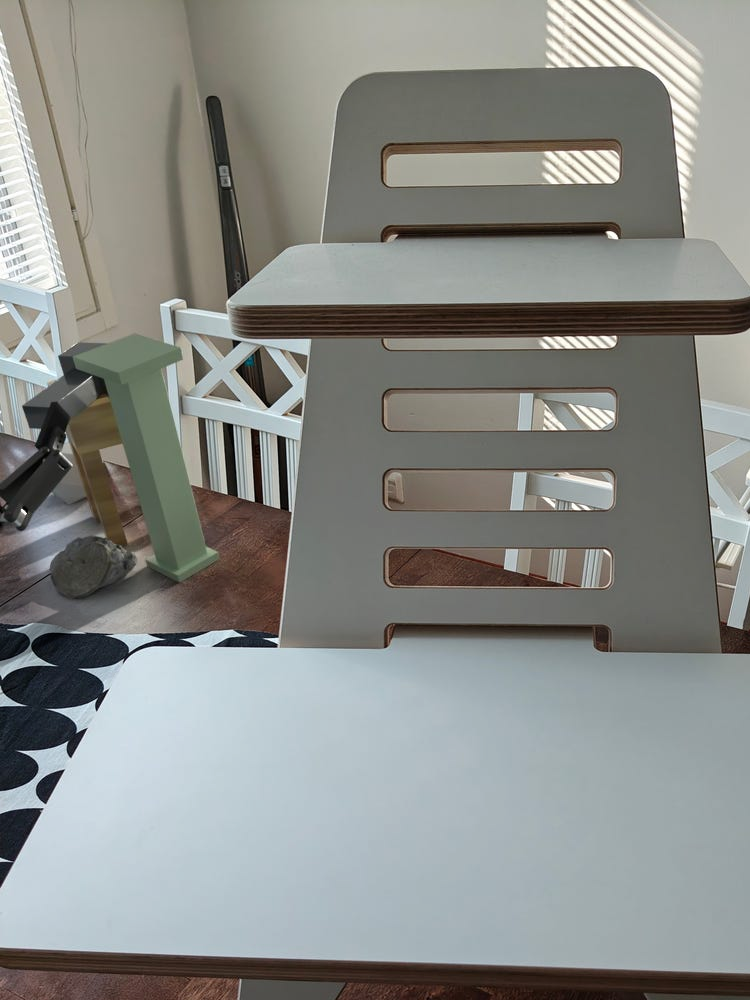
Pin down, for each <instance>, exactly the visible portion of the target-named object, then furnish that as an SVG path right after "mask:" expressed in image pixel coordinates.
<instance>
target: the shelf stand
mask: <svg viewBox="0 0 750 1000" xmlns="http://www.w3.org/2000/svg"><path fill="white" fill-rule="evenodd" d="M73 360H74V363H75V367H76V369H78V370H81V371H84V372H87V373H89V374H92V375H95V376H98V377H101V378H103V379H104V381H105V384H106V388H107V391H108V395H109V398H110V402H111V405H112V409H113V412H114V415H115V419H116V422H117V426H118V429H119V433H120V436H121V440H122V443H123V444H122V446H123V447H122V448H123V449H124V453H125V456H126V460H127V463H128V467H129V470H130V474H131V477H132V481H133V485H134V488H135V492H136V494H137V495H136V496H137V499H138V502H139V505H140V508H141V512H142V516H143V519H144V523H145V526H146V530H147V532H148V536H149V540H150V543H151V547H152V550H153V553H154V554H153V555H151V556H148V557H146V558H145V563H146V567H147V568H149V569H151V570H153V571H155V572H157V573H159V574H161V575H162V576H165V577H167V578H169V579H171V580H173V581H175V582H177V583H179V584H180V583H182V582H184V581H185V580H187V579H189V578H190V577H192V576H194V575H196V574H197V573H199V572H201V571H203V570H204V569H206V568H207V567H209V566H211V565H212V564H214V563H216V562H218V561H219V560H220V554H219V552H218V551H217V550H214V549H213V548H210V547H209V546H207V545H206V542H205V537H204V533H203V530H202V529H203V528H202V526H201V522H200V517H199V513H198V509H197V505H196V502H195V501H196V500H195V498H194V494H193V490H192V485H191V481H190V476H189V474H188V469H187V466H186V462H185V457H184V453H183V450H182V446H181V441H180V438H179V433H178V430H177V429H178V428H177V426H176V421H175V417H174V413H173V408H172V406H171V402H170V397H169V393H168V389H167V386H166V381H165V378H164V374H163V369H165V368H166V367H169V366H171V365H174V364H176V363H178V362H180V361H183V360H184V355H183V352H182V347H180V346H177V345H173V344H170V343H167V342H165V341H162V340H157V339H155V338H151V337H148V336H144V335H141V334H139V333H132V334H129V335H126V336H124V337H121V338H118V339H117V340H114V341H111V342H108V344H105V345H103V346H100V347H97V348H95V349H92V350H89V351H87V352H84V353H82V354H79V355H76V356H74V357H73Z"/></svg>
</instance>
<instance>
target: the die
mask: <svg viewBox="0 0 750 1000" xmlns="http://www.w3.org/2000/svg"><path fill="white" fill-rule="evenodd" d="M61 453H62V454H63V455H64V456H65V457H66V458H67V459H68V460H69V461H70V462H71V463H72V464H73V466H72V468H71V469H70V470H69V471H68V473H67V474H66V475H65V476H64V477H63V479H62V480H61V481H60V482H59V484H58V485H57V486H56V487H55V488H54V490H53V491H52V492H51V493H52V494H54V495H55V496H56V497H58V498H59V499H60V500H62V501H63V502H64V503H65V504H67V505H69V506H70V505H71V504H75V503H76V502H78V501H81V500H83V499H86V498H87V496H86V493H85V490H84V487H83V484H82V481H81V478H80V475H79V472H78V469H77V465H76V462H75V459H74V456H73V453H72V450H71V447H70V444H69V441H67V442H66V441H65V443H64V445H63V448H62V451H61ZM44 460H45V459H44ZM44 460H43V462H44ZM102 461H103V462H104V460H103V459H102Z"/></svg>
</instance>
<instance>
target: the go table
mask: <svg viewBox="0 0 750 1000" xmlns="http://www.w3.org/2000/svg"><path fill="white" fill-rule="evenodd" d="M56 380H57V379H54V380H50V381H47V382H46V384H47V387H48V386H50V385H51V384H52V383H54V382H55V381H56ZM65 434H66V439H67V442H69V444H70V447H71V450H72V453H73V456H74V459H75V462H76V465H77V469H78V472H79V475H80V478H81V481H82V484H83V487H84V490H85V493H86V496H87V497H86V499H87V502H88V506H89V509H90V511H91V514H92V518H93V519H94V521H95V523H100V524H101V528H102V530H103V531H102V532H103V533H104V536H105V537H104V538H105V539H108V540H110V541H112V543H114V544H117V545H121V546H122V547H124V546H128V545H129V543H128V540H127V537H126V533H125V530H124V527H123V524H122V523H123V522H122V520H121V517H120V513H119V510H118V507H117V504H116V501H115V497H114V493H113V491H112V487H111V484H110V480H109V478H108V475H107V471H106V469H105V465H104V460H103V458H102V454H101V452H100V450H103V449H107V448H111V447H115V446H118V445H123V443H122V440H121V436H120V433H119V429H118V426H117V422H116V419H115V415H114V412H113V409H112V405H111V402H110V398H109V395H108V394H102V395H101V396H100V397H98V398H97V399H96V400H95V401H93V402H92V403H91V404H90V405H88V406H87V407H86V408H85V409H84V410H82V411H81V412H80V413H79V414H77V415H76V416H75V417H74V418H72V419H71V420H70V421H69V423H68V426H67V428H66V431H65ZM102 460H103V461H102Z"/></svg>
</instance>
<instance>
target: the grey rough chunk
mask: <svg viewBox="0 0 750 1000" xmlns="http://www.w3.org/2000/svg"><path fill="white" fill-rule="evenodd" d="M137 564H138V555H137V554H136V552H134V551H129V550H127V549H124V548H123V546H121V545H117V544H114V543H112V541H110V540H108V539H106V537H102V536H97V535H87V536H84V537H80V536H78V537H76V538H75V539H73V540H71V541H70V542H68V543H67V544H66V545H65V549H63V550H60V551H59V552H58V553H57V554H56V555H55V556H54V557H53V559H51V561H50V566H49V572H50V574H49V575H50V579H51V582H52V584H53V586H54V587H55V589H56V590H57V591H58V592H59V593H60V594H62V595H64V596H65V597H68V598H72V599H82V598H85V597H88V596H89V595H91V594H93V593H94V592H95V591H97V590H98V589H99V588H101V587H102V588H103V587H105V586H109V585H111V584H113V583H116V582H117V581H119V580H121V579H123V577H125V576H126V575H128V574H129V573H130V572H131V571H132V570H133V569H134V568H135V567H136V566H137Z"/></svg>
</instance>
